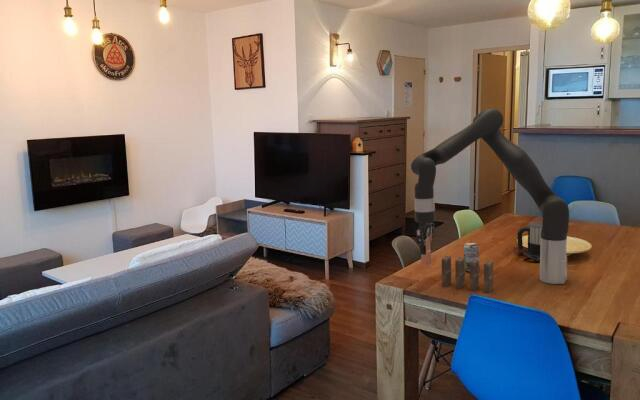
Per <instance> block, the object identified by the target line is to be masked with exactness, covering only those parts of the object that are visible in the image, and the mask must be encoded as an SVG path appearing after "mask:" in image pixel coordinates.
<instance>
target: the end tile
mask: <svg viewBox="0 0 640 400" xmlns="http://www.w3.org/2000/svg"><path fill="white" fill-rule="evenodd" d="M423 237H425V236H423ZM431 246H432V241H431V240H430V236H428V239H427V240H426V254H425V255H422V254H420V259H421V261H420V262H421V265H420V266H421V267H425V268H426V267H427V268H428V267H429V265H430V264H432V250H431Z"/></svg>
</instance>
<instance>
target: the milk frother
mask: <svg viewBox="0 0 640 400" xmlns="http://www.w3.org/2000/svg"><path fill="white" fill-rule="evenodd" d="M542 222H543V221H542ZM542 222H541V221H540V222H539V221H536V222H535V221H534V222H533V221H532V222H529V223H528V226H522V227H520V228H519V229H518V230H517V233H516V234H517V248H518V250H519V251H522V250H523V247H524V246H523V245H524V244H523V243H524V242H523V234H524V232H527V252H523V255H524V256H526V257H527V258H529V259H531V260H533V261H534V262H536V263H537V262H540V246H541V230H542Z"/></svg>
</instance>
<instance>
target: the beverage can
mask: <svg viewBox="0 0 640 400" xmlns="http://www.w3.org/2000/svg"><path fill="white" fill-rule="evenodd" d="M479 253H480V252H479V245H478V244H477V242H469V243H468V242H466V243H464V246H463V258H465V271H468V272H470V264H469V262H470V261H472V260H473V259H479V260H480V254H479ZM479 270H480V266H479Z"/></svg>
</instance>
